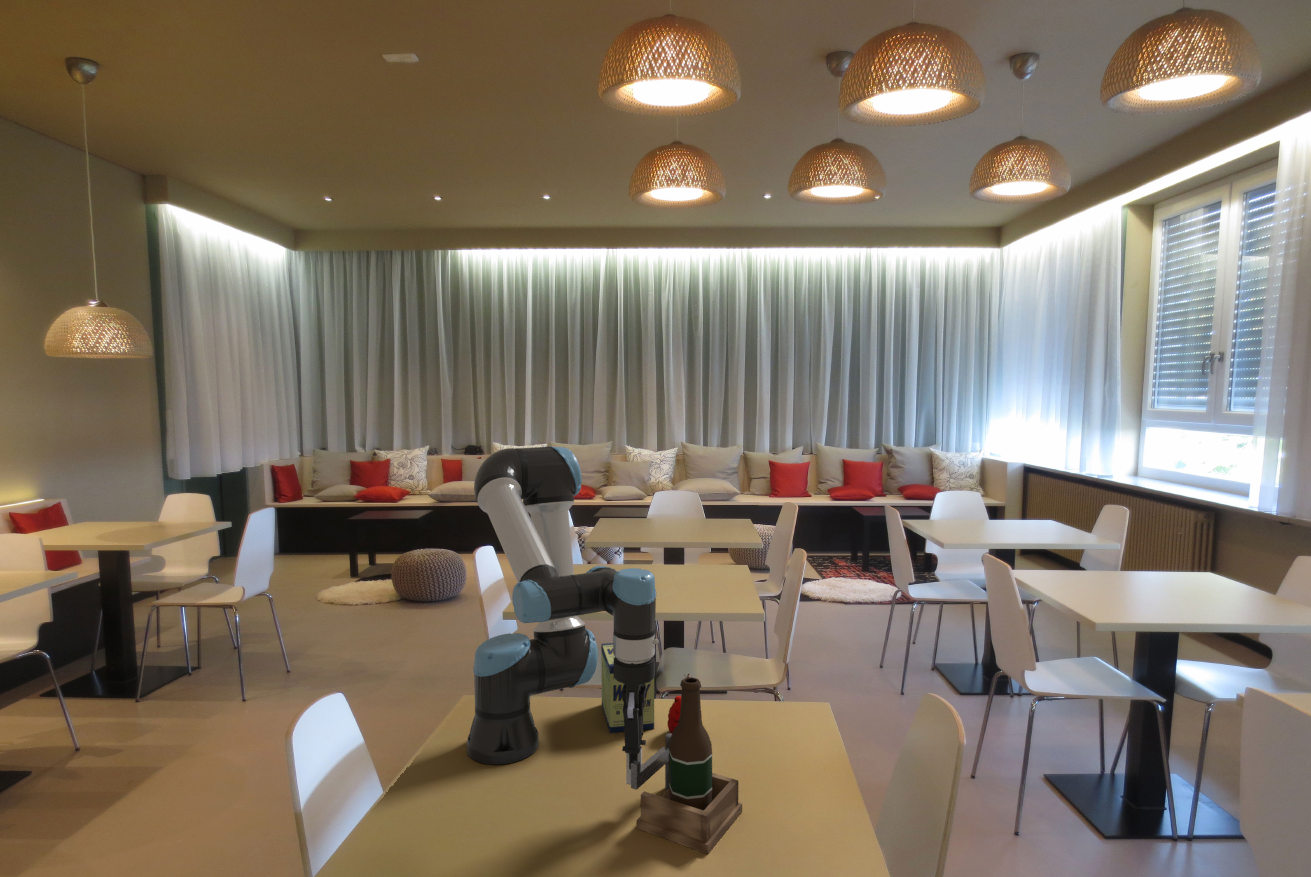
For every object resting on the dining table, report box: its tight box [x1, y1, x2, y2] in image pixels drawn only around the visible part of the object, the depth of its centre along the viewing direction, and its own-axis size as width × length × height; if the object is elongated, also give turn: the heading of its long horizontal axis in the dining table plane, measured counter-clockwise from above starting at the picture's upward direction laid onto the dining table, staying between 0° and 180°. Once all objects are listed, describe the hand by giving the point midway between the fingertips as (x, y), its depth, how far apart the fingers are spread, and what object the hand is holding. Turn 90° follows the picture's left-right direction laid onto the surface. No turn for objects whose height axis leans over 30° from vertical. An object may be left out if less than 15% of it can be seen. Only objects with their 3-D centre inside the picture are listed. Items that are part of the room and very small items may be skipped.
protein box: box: [600, 642, 655, 734], centre depth 169 cm, size 10×16×16 cm
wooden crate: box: [635, 732, 743, 855], centre depth 129 cm, size 16×15×10 cm
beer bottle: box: [669, 676, 713, 811], centre depth 127 cm, size 8×8×24 cm
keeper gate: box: [630, 746, 669, 791], centre depth 131 cm, size 12×1×4 cm, turn 150°
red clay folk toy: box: [667, 673, 703, 734], centre depth 160 cm, size 8×7×15 cm
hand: (634, 782), depth 131 cm, fingers closed
